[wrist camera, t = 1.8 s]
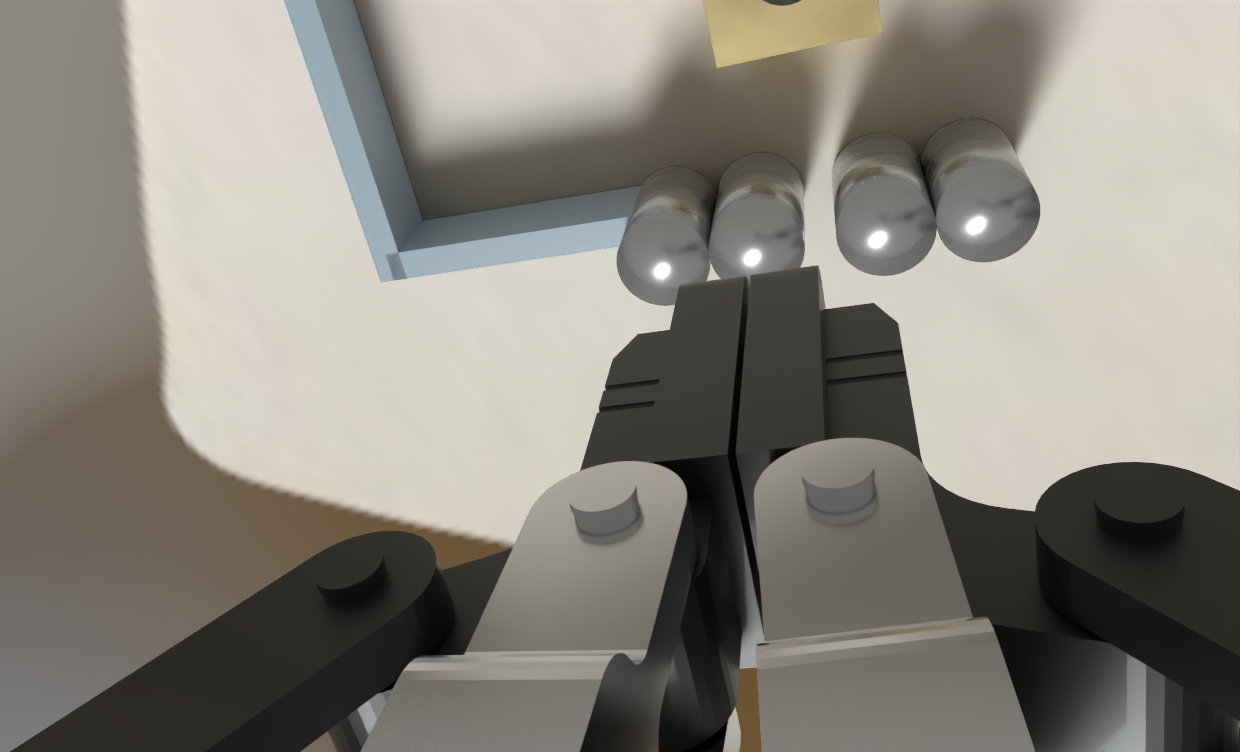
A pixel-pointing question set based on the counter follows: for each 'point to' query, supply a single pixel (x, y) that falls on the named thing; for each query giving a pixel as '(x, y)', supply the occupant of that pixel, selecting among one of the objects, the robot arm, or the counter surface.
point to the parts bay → (385, 185)
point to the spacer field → (863, 204)
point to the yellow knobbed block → (784, 26)
